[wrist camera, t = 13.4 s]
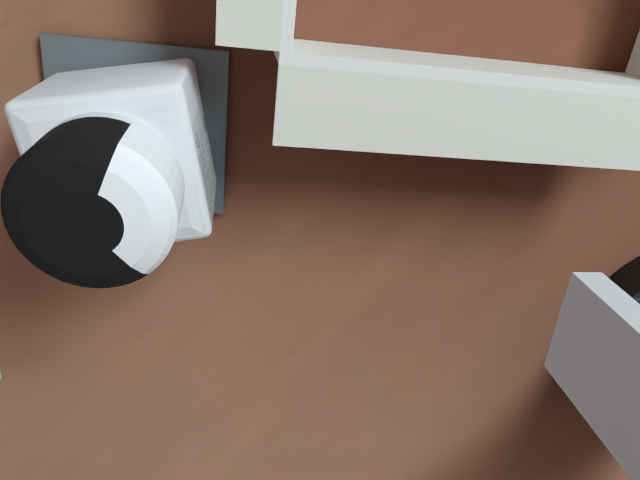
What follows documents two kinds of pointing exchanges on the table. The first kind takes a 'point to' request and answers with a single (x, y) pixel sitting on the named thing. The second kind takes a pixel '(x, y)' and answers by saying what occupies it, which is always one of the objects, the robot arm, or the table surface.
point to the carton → (438, 98)
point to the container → (109, 171)
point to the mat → (100, 53)
